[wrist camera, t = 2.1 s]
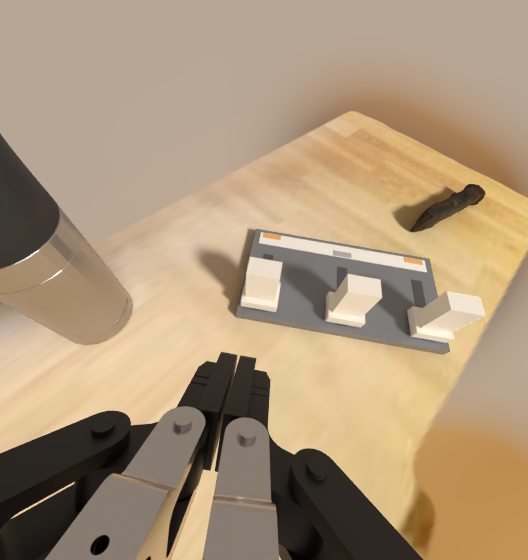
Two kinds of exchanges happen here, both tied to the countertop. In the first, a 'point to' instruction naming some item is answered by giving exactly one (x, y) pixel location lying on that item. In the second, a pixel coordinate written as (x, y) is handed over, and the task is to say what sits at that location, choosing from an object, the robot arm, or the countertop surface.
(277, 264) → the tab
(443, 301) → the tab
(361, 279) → the middle tab
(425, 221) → the hand tool
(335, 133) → the countertop surface
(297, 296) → the switch bank
